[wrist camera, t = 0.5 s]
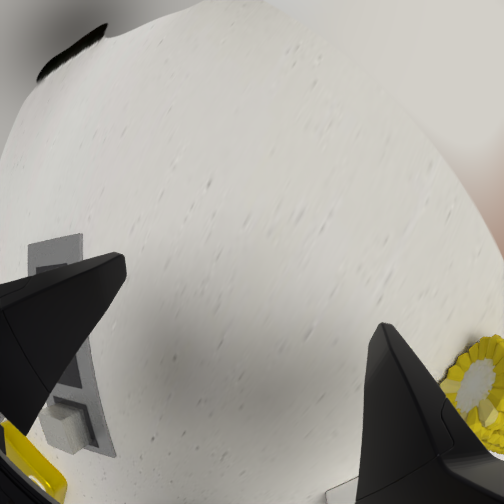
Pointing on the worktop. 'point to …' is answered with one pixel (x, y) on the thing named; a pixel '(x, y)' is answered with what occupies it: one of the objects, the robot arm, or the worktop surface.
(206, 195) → the worktop surface
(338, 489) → the medicine bottle
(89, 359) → the grey slotted plate
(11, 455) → the element tile
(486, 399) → the food
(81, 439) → the zinc block
